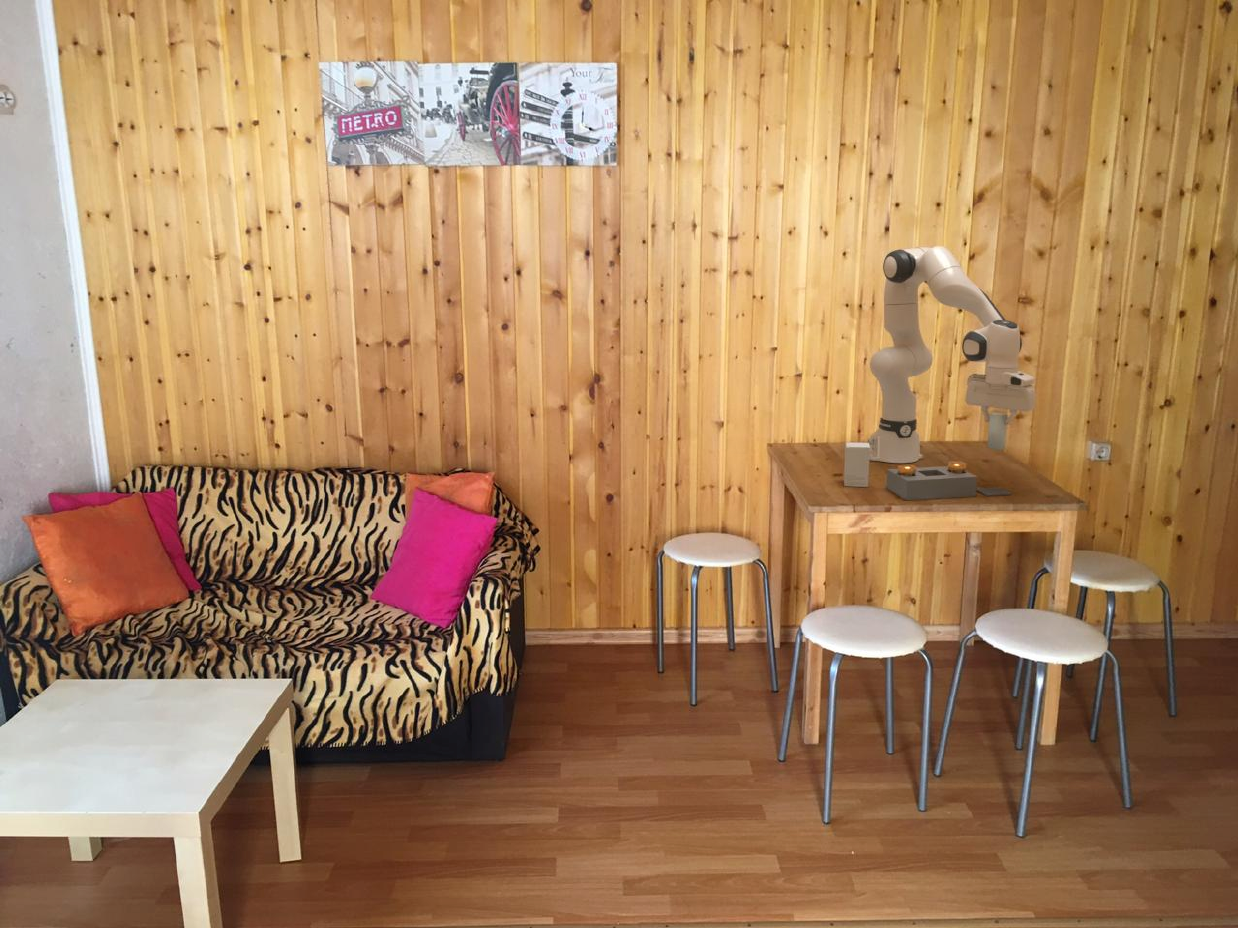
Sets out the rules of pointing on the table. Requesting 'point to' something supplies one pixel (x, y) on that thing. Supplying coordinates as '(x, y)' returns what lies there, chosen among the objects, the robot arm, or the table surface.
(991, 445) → the block
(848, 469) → the supplement box
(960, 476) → the block
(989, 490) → the mat
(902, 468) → the plunger
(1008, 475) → the table surface
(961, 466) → the plunger
